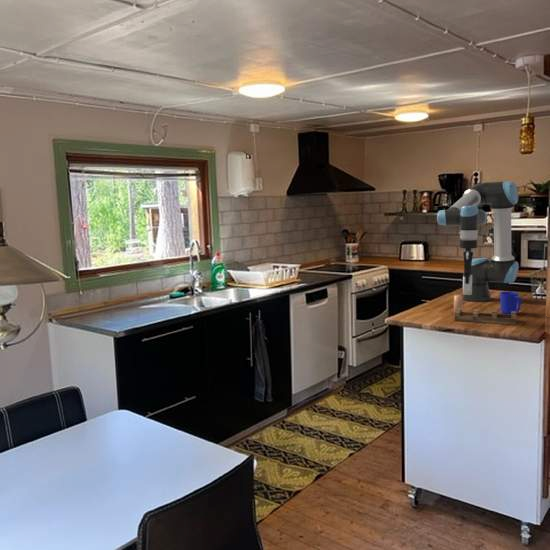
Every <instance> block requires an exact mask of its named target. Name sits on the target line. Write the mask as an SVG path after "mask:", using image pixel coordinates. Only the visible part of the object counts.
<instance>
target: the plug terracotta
mask: <svg viewBox="0 0 550 550" xmlns="http://www.w3.org/2000/svg"><path fill="white" fill-rule="evenodd" d="M457 308H458V309H461V312H463V296H462V295H461V294H460V295H459V294H455V295H453V315H455V311H456V309H457Z"/></svg>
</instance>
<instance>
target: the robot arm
mask: <svg viewBox="0 0 550 550" xmlns="http://www.w3.org/2000/svg"><path fill="white" fill-rule="evenodd" d="M518 202H519V192H518V188H517V185H516V184H515V182H514V181H505V180H504V181H492V182H491V181H490V182H488V181H487V182H481V183H477V184H475V185H473V186H471V187H469V188H468V189H467V190H465V191H464V193H463V194H462V197H460V198H459V199H458V200H457V201H456V202H454V203H453V205H451V206H450V207H449V208H448V209H442V210H441V209H440V210H438V211H437V214H436V221H437V224H438V225H440V226H445V227H446V226H454V227H455V226H459V227H460V228H459V230H460V231H459V232H458V235H459V239H460V240H459V248H460V249H464V250H465V251H463V262H464V267H463V274H462V278H463V277H464V291H470V278H471V277H470V275H472V295H463V293H462V296H463V300H464V301H468V302H489V301H491V300H492V295H491V292H490V289H489V283H503V284H512V283H514V282H515V281H516V279H517V276H518V273H519V268H520V267H519V262H518V261H516V259H515V257H514V256H513V255H512V210H514V208H515V205H516V204H518ZM479 205H481V206H482V205H486V206H487V205H489V207H490V210H491V211H492V212H493V253H494V254H493V255H492V257H491V258H490V259H491V260H490V259H489V257H477V258H473V256H474V252H473V251H472V249H477V248H478V240H477V239H478V238H479V237H478V233H479V232H478V226H482V225H485V223H486V222H487V219H488V214H487V213H486V212H485V211H484V210H483V209H479Z"/></svg>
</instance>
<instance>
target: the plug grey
mask: <svg viewBox="0 0 550 550" xmlns="http://www.w3.org/2000/svg"><path fill="white" fill-rule="evenodd" d="M470 277H471V278H470V291H464V277H463V276H462V294H463V295H472V275H470Z"/></svg>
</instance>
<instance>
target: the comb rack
mask: <svg viewBox="0 0 550 550" xmlns="http://www.w3.org/2000/svg"><path fill="white" fill-rule="evenodd" d="M454 322H463V323H464V322H465V323H466V322H467V323H481V324H483V323H484V324H500V325H512V326H513V325H514V326H515V325H517V312H515V311H511V314H504V313H498V310H496V309H494V310H492V312H491V313H489V312H488V313H487V312H480V309H473V311H472V312H470V311H462V312H461V309H458V308H457V309H456V311H455V314H454Z"/></svg>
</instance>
